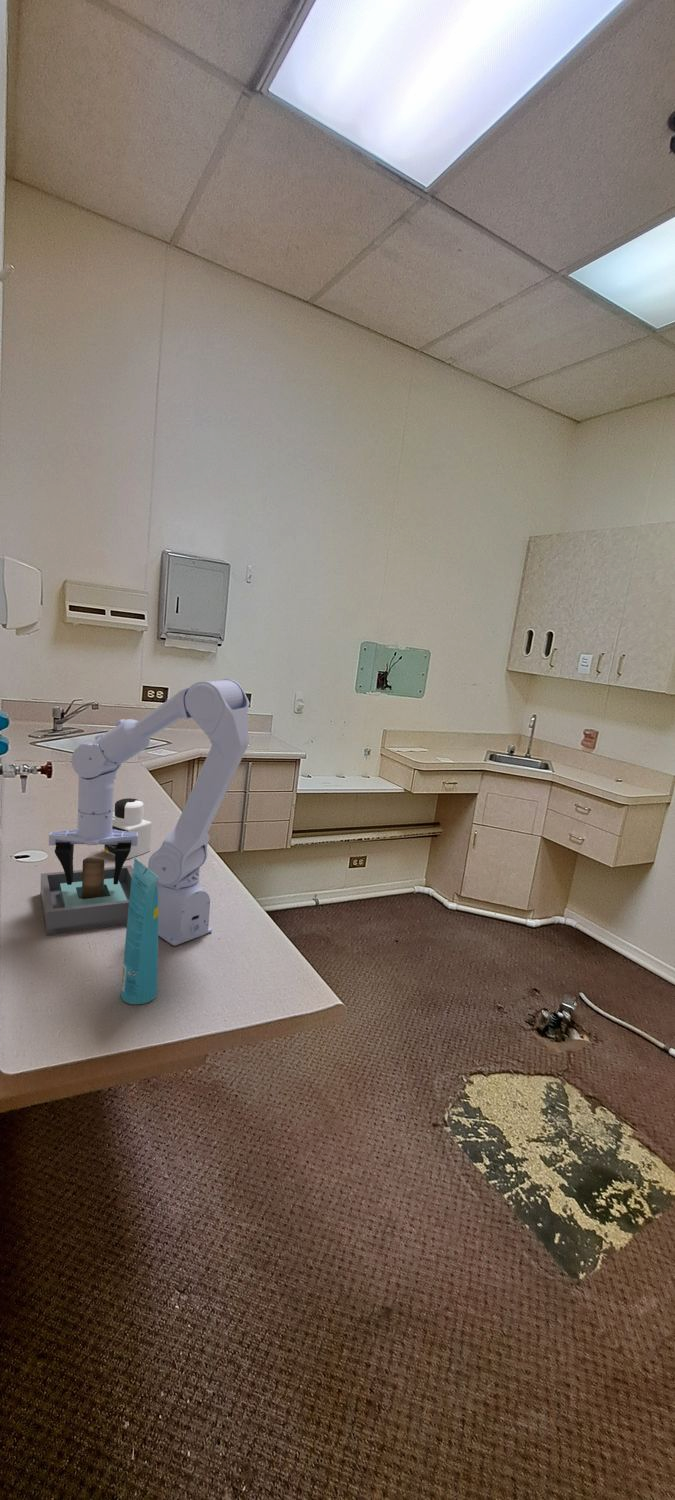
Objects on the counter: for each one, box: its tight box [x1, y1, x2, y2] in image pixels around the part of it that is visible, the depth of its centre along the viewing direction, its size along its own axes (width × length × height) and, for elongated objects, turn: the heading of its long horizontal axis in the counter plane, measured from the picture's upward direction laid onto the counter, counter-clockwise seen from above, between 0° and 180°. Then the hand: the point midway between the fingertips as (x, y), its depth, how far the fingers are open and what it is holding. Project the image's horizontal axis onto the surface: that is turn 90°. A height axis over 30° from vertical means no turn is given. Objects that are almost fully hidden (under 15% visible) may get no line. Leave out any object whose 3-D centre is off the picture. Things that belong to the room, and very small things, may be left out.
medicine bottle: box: [103, 797, 152, 861], centre depth 134 cm, size 7×7×12 cm
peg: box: [82, 856, 105, 899], centre depth 107 cm, size 4×4×8 cm
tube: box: [120, 857, 159, 1005], centre depth 83 cm, size 7×5×19 cm, turn 47°
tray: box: [40, 864, 133, 936], centre depth 108 cm, size 16×16×4 cm
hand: (93, 882), depth 107 cm, fingers open, 7 cm apart
